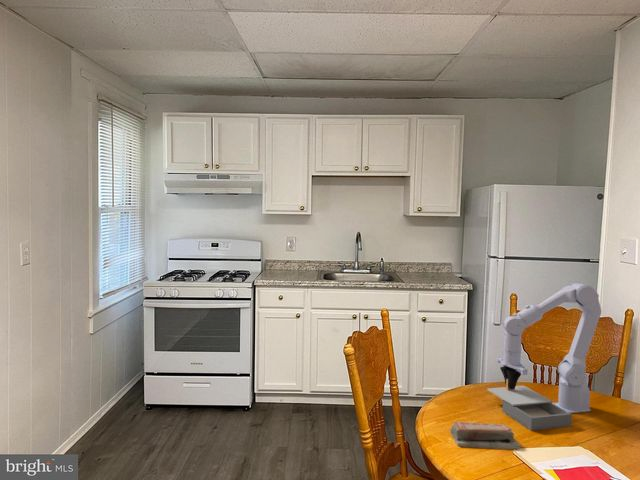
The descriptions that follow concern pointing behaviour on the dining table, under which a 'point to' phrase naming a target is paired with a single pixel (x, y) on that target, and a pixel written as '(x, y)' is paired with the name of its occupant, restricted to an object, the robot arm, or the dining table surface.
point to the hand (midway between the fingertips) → (510, 388)
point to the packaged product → (483, 435)
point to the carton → (538, 415)
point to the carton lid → (519, 395)
